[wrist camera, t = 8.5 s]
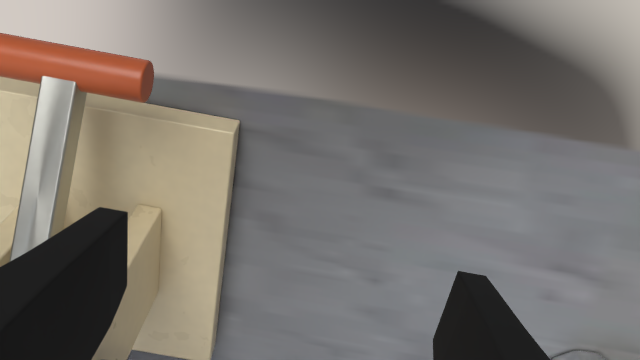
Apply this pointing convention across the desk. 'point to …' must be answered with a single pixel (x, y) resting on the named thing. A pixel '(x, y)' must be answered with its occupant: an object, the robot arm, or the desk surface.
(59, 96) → the lever
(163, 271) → the bracket
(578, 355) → the milkshake
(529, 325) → the desk surface
